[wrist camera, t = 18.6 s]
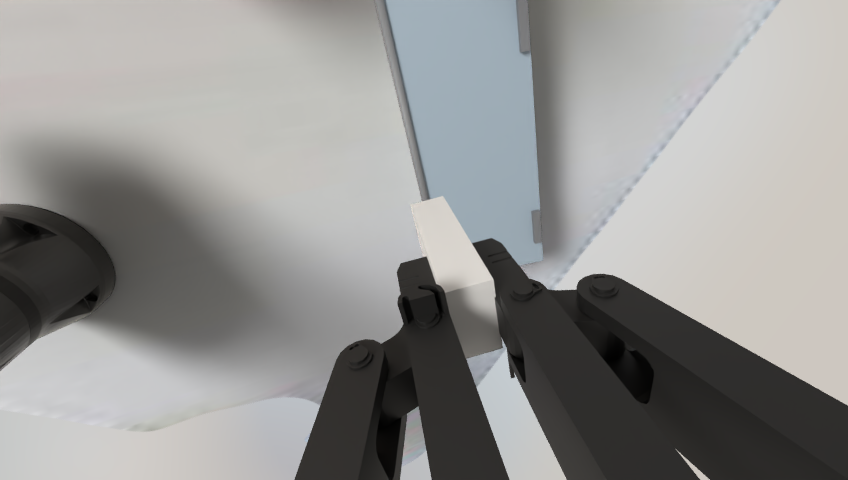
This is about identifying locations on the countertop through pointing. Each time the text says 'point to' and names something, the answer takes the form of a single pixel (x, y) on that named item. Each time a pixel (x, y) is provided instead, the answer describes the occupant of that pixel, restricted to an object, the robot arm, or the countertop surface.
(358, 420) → the robot arm
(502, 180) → the cover
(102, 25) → the countertop surface
